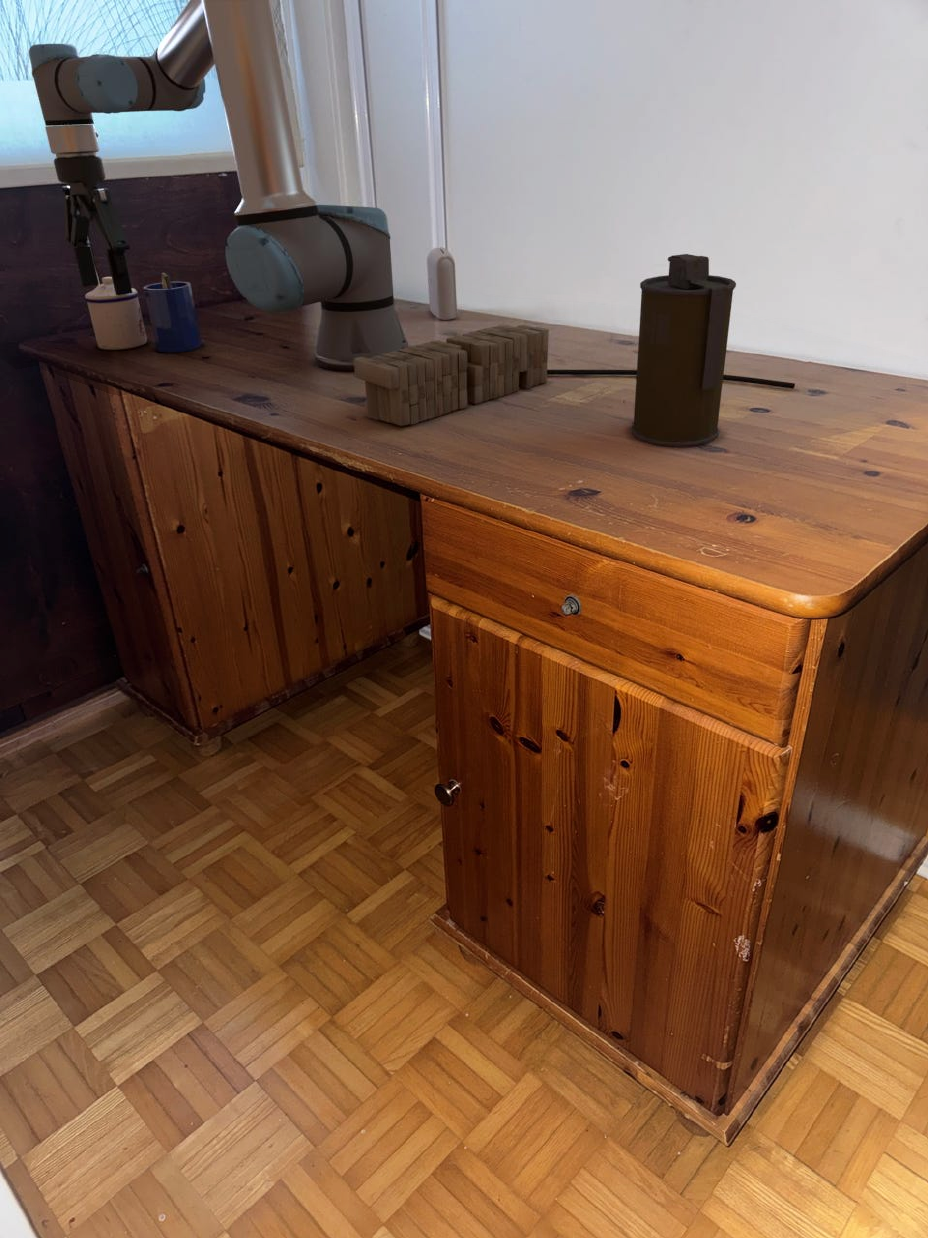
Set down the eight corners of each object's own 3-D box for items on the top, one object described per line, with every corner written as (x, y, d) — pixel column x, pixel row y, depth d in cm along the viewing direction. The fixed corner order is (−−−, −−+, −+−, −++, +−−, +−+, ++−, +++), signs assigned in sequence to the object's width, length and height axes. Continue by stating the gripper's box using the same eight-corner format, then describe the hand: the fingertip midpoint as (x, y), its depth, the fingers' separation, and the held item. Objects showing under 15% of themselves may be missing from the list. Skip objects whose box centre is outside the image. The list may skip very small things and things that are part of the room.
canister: (614, 428, 108) (623, 255, 98) (684, 414, 112) (699, 247, 102) (666, 454, 100) (681, 268, 90) (739, 438, 103) (762, 258, 93)
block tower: (510, 379, 133) (356, 418, 115) (510, 322, 128) (351, 353, 111) (548, 388, 127) (393, 431, 110) (550, 328, 123) (389, 363, 106)
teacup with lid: (156, 344, 158) (141, 276, 153) (106, 353, 154) (89, 283, 148) (133, 334, 167) (119, 269, 161) (85, 342, 162) (68, 276, 156)
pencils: (190, 343, 156) (177, 272, 150) (173, 346, 154) (159, 275, 148) (184, 341, 158) (170, 271, 152) (166, 344, 156) (152, 274, 150)
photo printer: (427, 311, 175) (423, 245, 169) (448, 309, 176) (445, 243, 170) (437, 321, 167) (434, 252, 160) (459, 319, 167) (456, 250, 161)
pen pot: (209, 346, 156) (198, 284, 150) (169, 354, 151) (156, 291, 146) (188, 340, 161) (176, 280, 155) (149, 348, 156) (135, 286, 151)
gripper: (132, 154, 139) (159, 294, 150) (68, 152, 155) (97, 278, 166) (86, 157, 135) (118, 301, 146) (25, 155, 150) (58, 284, 161)
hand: (107, 289), depth 156 cm, fingers open, 13 cm apart
